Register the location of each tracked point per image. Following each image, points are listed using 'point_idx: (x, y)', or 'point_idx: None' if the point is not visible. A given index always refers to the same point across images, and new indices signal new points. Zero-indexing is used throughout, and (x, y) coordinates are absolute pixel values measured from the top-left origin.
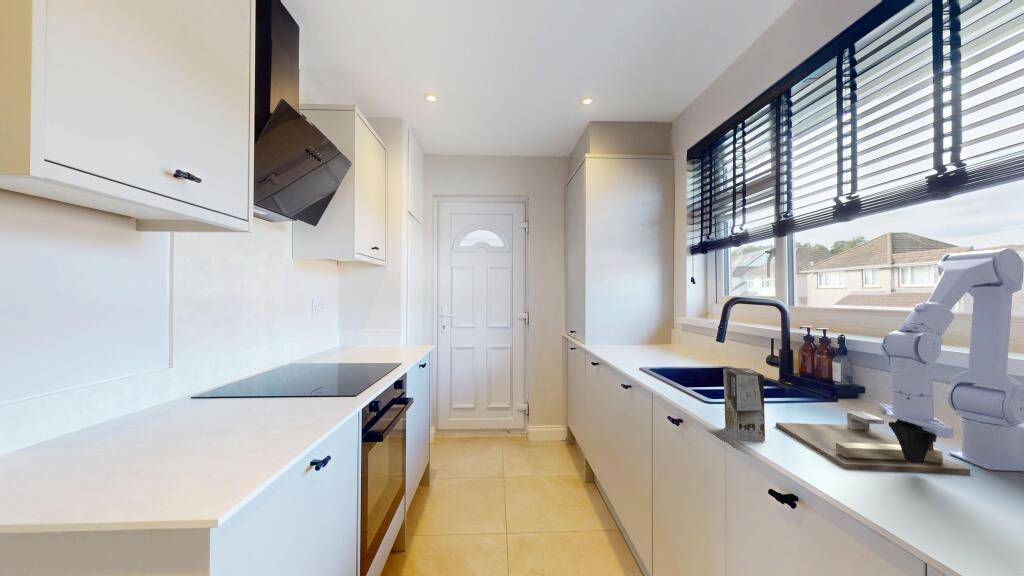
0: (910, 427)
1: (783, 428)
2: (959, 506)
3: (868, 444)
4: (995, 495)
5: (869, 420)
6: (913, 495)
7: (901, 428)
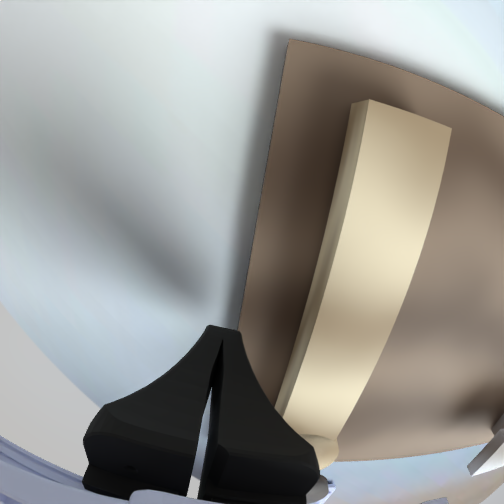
0: (140, 474)
1: None
2: (9, 213)
3: (391, 292)
4: (92, 376)
5: (496, 445)
6: (52, 131)
7: (142, 432)
